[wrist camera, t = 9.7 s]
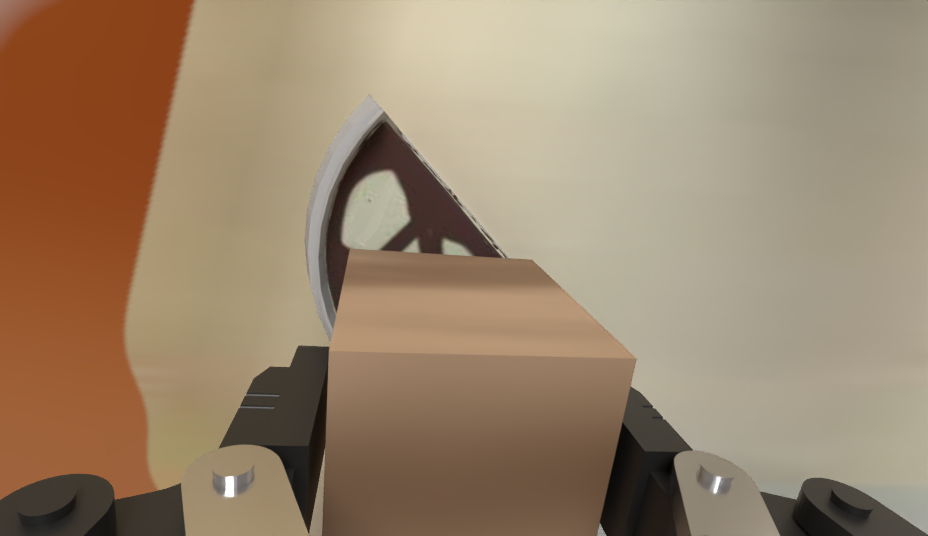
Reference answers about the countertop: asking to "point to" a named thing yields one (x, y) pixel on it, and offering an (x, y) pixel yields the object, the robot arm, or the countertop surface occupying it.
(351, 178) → the food container
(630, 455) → the robot arm
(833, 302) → the countertop surface
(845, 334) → the countertop surface
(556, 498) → the walnut block
